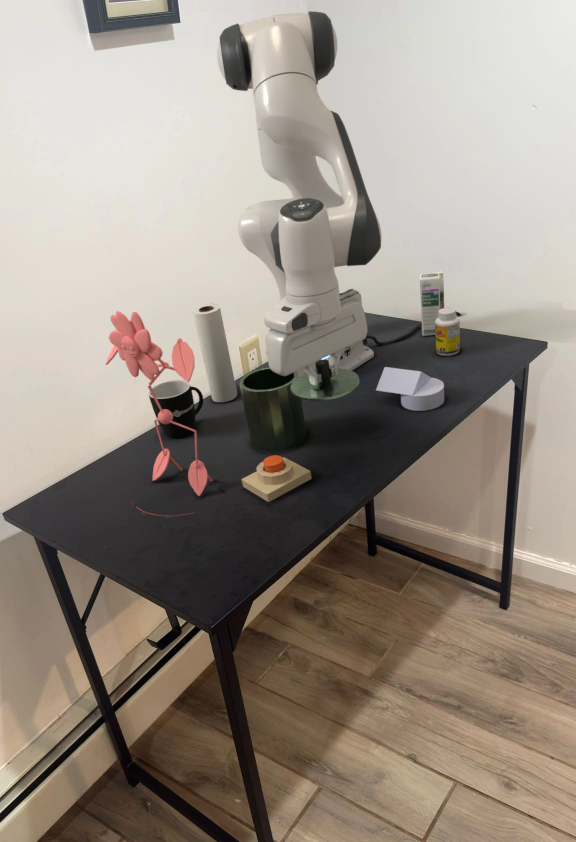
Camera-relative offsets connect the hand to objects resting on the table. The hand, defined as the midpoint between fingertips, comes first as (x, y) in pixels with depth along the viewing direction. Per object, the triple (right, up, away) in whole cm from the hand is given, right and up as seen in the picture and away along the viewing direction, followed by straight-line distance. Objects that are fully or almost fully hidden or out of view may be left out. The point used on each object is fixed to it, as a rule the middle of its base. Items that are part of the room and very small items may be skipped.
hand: (323, 379), depth 129 cm
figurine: (-29, -20, +7) cm, 36 cm away
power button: (-9, -16, +2) cm, 18 cm away
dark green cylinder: (-8, -9, +18) cm, 22 cm away
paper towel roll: (-21, +3, +40) cm, 45 cm away
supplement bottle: (+32, +14, +42) cm, 55 cm away
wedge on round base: (+20, 0, +24) cm, 32 cm away
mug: (-29, -6, +29) cm, 41 cm away
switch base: (-8, -19, +4) cm, 21 cm away
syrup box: (+31, +22, +54) cm, 66 cm away
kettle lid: (0, -1, +1) cm, 1 cm away
